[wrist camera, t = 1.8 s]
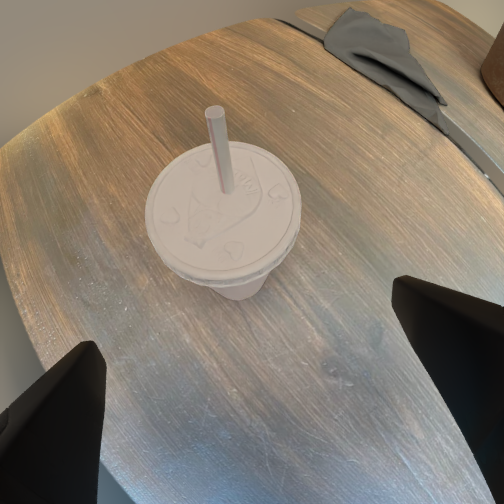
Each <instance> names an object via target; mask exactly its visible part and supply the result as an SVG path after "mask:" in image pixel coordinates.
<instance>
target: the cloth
mask: <svg viewBox="0 0 504 504" xmlns="http://www.w3.org/2000/svg"><path fill="white" fill-rule="evenodd" d="M324 46H325V49H327V50H328V51H329V52H331V53H332V54H334V55H335V56H336V57H338V58H339V59H341V60H342V61H344V62H345V63H346V64H348V65H349V66H351V67H352V68H354V69H356V70H357V71H359V72H361V73H362V74H364V75H365V76H367V77H369V78H370V79H372V80H373V81H375V82H377V83H378V84H380V85H381V86H383V87H385V88H386V89H388V90H389V91H391V92H392V93H394V94H395V95H396V96H398V97H399V98H400V99H401V100H403V101H404V102H405V103H407V104H408V105H409V106H411V107H412V108H413V109H415V110H416V111H417V112H419V113H420V114H421V115H423V116H424V117H425V118H427V119H428V120H429V121H430V122H432V123H433V124H434V125H435V126H436V127H438V128H439V129H440V130H441V131H442V132H443V133H445V134H446V135H449V134H450V133H449V130H448V127H447V124H446V122H445V119H444V117H443V115H442V113H441V110H440V108H439V106H438V104H437V102H436V100H435V99H434V97H433V95H435V96H436V97H437V99H438V101H439V102H440V103H441V104H444V105H446V106H447V103H446V102H445V100H444V99H443V97H442V96H441V95H440V93H439V92H438V90H437V89H436V88H435V86H434V85H433V84H432V82H431V81H430V79H429V78H428V77H427V75H426V73H425V72H424V70H423V68H422V67H421V65H420V64H419V63H418V61H417V60H416V59H415V58H414V57H413V56H412V55H410V54H409V49H410V47H409V40H408V37H407V34H406V32H405V30H403V29H401V28H398V27H395V26H391V25H388V24H383V23H381V22H380V21H379V20H378V19H375V18H373V17H371V16H370V15H369V14H368V13H366V12H360V11H355V10H353V9H352V8H351V7H349V8H348V9H347V11H346V12H345V13H344V14H343V15H342V16H341V17H340V18H339V19H338V20H337V21H336V22H335V23H334V25H333V26H332V27H331V29H330V30H329V31H328V33H327V34H326V36H325V38H324Z"/></svg>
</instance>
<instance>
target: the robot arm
mask: <svg viewBox="0 0 504 504" xmlns="http://www.w3.org/2000/svg"><path fill="white" fill-rule="evenodd" d="M391 302H392V307H393V310H394V312H395V314H396V316H397V318H398V320H399V322H400V324H401V326H402V328H403V330H404V332H405V334H406V336H407V338H408V340H409V342H410V344H411V346H412V348H413V349H414V351H415V353H416V354H417V356H418V358H419V359H420V361H421V362H422V364H423V366H424V367H425V369H426V371H427V372H428V374H429V376H430V377H431V379H432V381H433V382H434V384H435V386H436V387H437V389H438V391H439V393H440V394H441V396H442V398H443V400H444V401H445V403H446V405H447V407H448V408H449V410H450V412H451V414H452V416H453V417H454V419H455V421H456V423H457V425H458V427H459V428H460V430H461V432H462V434H463V436H464V438H465V440H466V442H467V444H468V445H469V447H470V449H471V451H472V453H473V456H474V458H475V460H476V462H477V464H478V466H479V468H480V470H481V472H482V474H483V476H484V478H485V480H486V483H487V485H488V487H489V489H490V491H491V494H492V496H493V498H494V500H495V503H496V504H504V306H503V307H502V306H501V305H498V304H495V303H492V302H489V301H486V300H483V299H480V298H477V297H474V296H471V295H467V294H464V293H461V292H458V291H455V290H452V289H449V288H446V287H443V286H440V285H436V284H433V283H430V282H427V281H424V280H421V279H418V278H414V277H411V276H408V275H404V276H401V277H397V278H395V279H394V281H393V288H392V300H391ZM106 371H107V366H106V362H105V359H104V358H103V356H102V354H101V352H100V350H99V349H98V347H97V345H96V343H95V342H94V341H91V340H90V341H83V342H80V343H79V344H78V345H77V346H75V347H74V348H73V349H72V350H71V351H70V352H69V353H67V354H66V355H65V356H64V357H63V358H62V359H61V360H59V361H58V362H57V363H56V364H55V365H54V366H53V367H51V368H50V369H49V370H48V371H47V372H46V373H45V374H44V375H43V376H41V377H40V378H39V379H38V380H37V381H36V382H35V383H34V384H32V385H31V386H30V387H29V388H28V389H27V390H26V391H25V392H24V393H23V394H21V395H20V396H19V397H18V398H17V399H16V400H15V401H14V402H13V403H12V404H11V405H10V406H9V408H6V409H5V410H4V411H3V412H2V413H1V414H0V504H97V490H98V473H99V460H100V449H101V439H102V429H103V421H104V412H105V392H106Z"/></svg>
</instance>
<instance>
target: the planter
mask: <svg viewBox="0 0 504 504" xmlns="http://www.w3.org/2000/svg"><path fill="white" fill-rule="evenodd" d="M481 72H482V76H483V78H484V80H485V82H486V84H487V86H488V87H489V89H490V90H491V92H492V93H493V94H494V96H495V97H496V98H497V100H498V101H499V102H500V103H501V104H502V105H503V107H504V23H503V25H502V27H501V29H500V31H499V33H498V35H497V37H496V39H495V41H494V43H493V45H492V47H491V49H490V51H489V53H488V55H487V57H486V59H485V61H484V63H483V64H482V67H481Z"/></svg>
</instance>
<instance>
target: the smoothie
mask: <svg viewBox="0 0 504 504" xmlns="http://www.w3.org/2000/svg"><path fill="white" fill-rule="evenodd" d="M205 117H206V121H207V126H208V131H209V136H210V141H211V143H208V144H204V145H201V146H198V147H195V148H193V149H191V150H189V151H187V152H185V153H183V154H181V155H180V156H178V157H177V158H175V159H174V160H173V161H172V162H170V163H169V164H168V165H167V166H166V167H165V168H164V169H163V170H162V172H161V173H160V174H159V175H158V177H157V178H156V180H155V181H154V183H153V185H152V187H151V189H150V191H149V194H148V197H147V201H146V207H145V224H146V229H147V233H148V236H149V239H150V241H151V243H152V245H153V246H154V248H155V250H156V252H157V253H158V255H159V256H160V258H161V259H162V261H163V262H164V263H165V265H166V266H167V267H168V268H170V269H171V270H172V271H173V272H175V273H176V274H177V275H179V276H180V277H181V278H183V279H186V280H188V281H191V282H193V283H196V284H198V285H201V286H208V287H210V288H211V289H213V290H214V291H216V292H217V293H219V294H220V295H222V296H224V297H225V298H228V299H231V300H244V299H247V298H250V297H252V296H253V295H255V294H256V293H257V292H258V291H259V290H260V289H261V287H262V285H263V284H264V282H265V280H266V278H267V277H268V275H269V273H270V271H271V270H273V269H274V268H275V267H276V266H278V265H279V264H280V263H281V262H282V261H283V260H284V258H285V257H286V256H287V254H288V253H289V251H290V250H291V249H292V247H293V246H294V243H295V240H296V238H297V235H298V232H299V229H300V218H301V210H302V202H301V194H300V190H299V187H298V184H297V182H296V180H295V178H294V176H293V174H292V173H291V171H290V170H289V169H288V167H287V166H286V165H285V164H284V163H283V162H282V161H281V160H280V159H278V158H277V157H276V156H275V155H273V154H272V153H270V152H268V151H266V150H265V149H262V148H260V147H258V146H255V145H251V144H248V143H243V142H234V141H228V135H227V127H226V120H225V113H224V109H223V108H222V107H221V106H211V107H209V108H208V109H206V111H205Z"/></svg>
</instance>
